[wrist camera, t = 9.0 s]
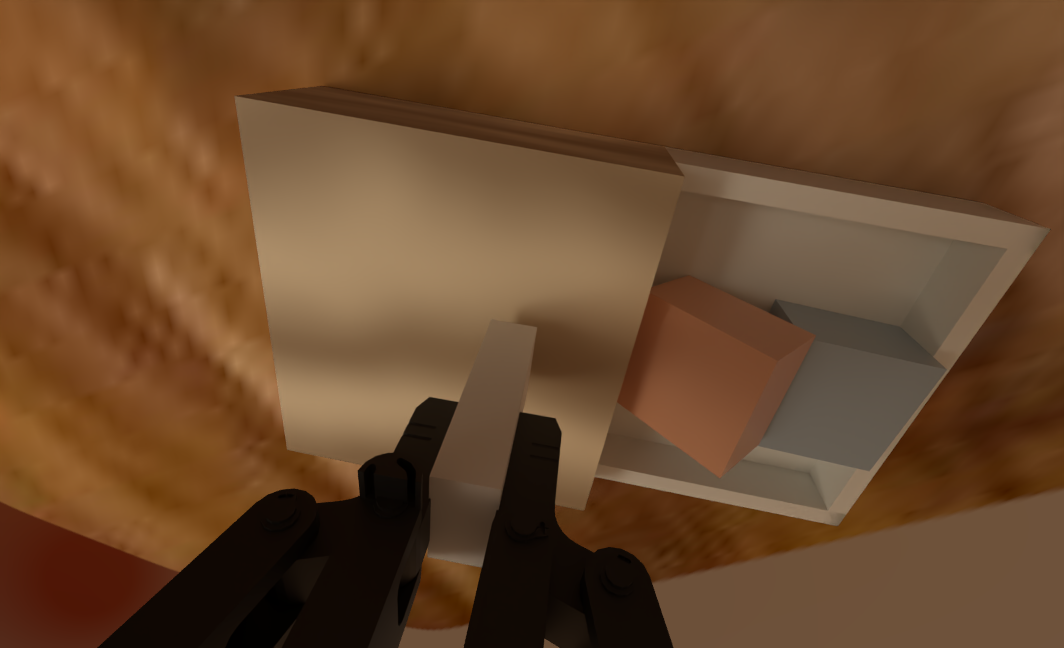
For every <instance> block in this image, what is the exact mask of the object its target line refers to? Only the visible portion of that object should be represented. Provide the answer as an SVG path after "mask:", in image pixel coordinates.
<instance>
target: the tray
mask: <svg viewBox="0 0 1064 648" xmlns="http://www.w3.org/2000/svg"><path fill="white" fill-rule="evenodd" d="M665 148H666V149H667V151H668V152H669V154H670V155H671V157H672V158H673V160H674V161H675V163H676V164H677V166H678V167H679V168H680V170H681V171H682V173H683V174H684V176H685V178H684V181H683V185H682V188H681V191H680V195H679V198H678V201H677V205H676V208H675V211H674V214H673V218H672V221H671V224H670V228H669V231H668V234H667V238H666V241H665V244H664V248H663V251H662V254H661V258H660V261H659V264H658V267H657V271H656V274H655V277H654V281H653V284H652V287H654V286H657V285H660V284H663V283H666V282H669V281H672V280H676V279H679V278H682V277H685V276H688V275H690V276H692V277H694V278H696V279H699V280H701V281H703V282H705V283H707V284H709V285H711V286H713V287H715V288H718V289H720V290H722V291H724V292H726V293H728V294H730V295H732V296H734V297H736V298H739V299H741V300H743V301H745V302H747V303H749V304H751V305H753V306H755V307H757V308H760V309H762V310H764V311H766V312H768V313H769V311H770V309H771V307H772V305H773V303H774V301H775V299H778V300H782V301H787V302H791V303H796V304H800V305H805V306H809V307H814V308H818V309H823V310H827V311H832V312H836V313H841V314H845V315H850V316H854V317H859V318H863V319H868V320H872V321H877V322H881V323H886V324H891V325H895V326H900V327H901V328H902V329H903V330H904V331H905V332H907V333H908V334H909V335H910V336H911V337H912V338H913V339H914V340H915V341H916V342H918V343H919V344H920V345H921V346H922V347H923V348H924V349H925V350H926V351H927V352H928V353H930V354H931V355H932V356H933V357H934V358H935V359H936V360H937V361H938V362H939V363H940V364H942V365H943V366H944V367H945V368H946V369H947V371H946V372H945V373H944V375H943V376H942V377H941V379H940V380H939V381H938V382H937V384H936V385H935V386H934V388H933V389H932V390H931V392H930V393H929V394H928V396H927V397H926V398H925V399H924V401H923V402H922V403H921V405H920V406H919V407H918V409H917V410H916V411H915V413H914V414H913V415H912V416H911V418H910V419H909V420H908V422H907V423H906V424H905V426H904V427H903V428H902V429H901V431H900V432H899V433H898V435H897V436H896V437H895V439H894V440H893V441H892V443H891V444H890V445H889V446H888V448H887V449H886V450H885V452H884V453H883V454H882V456H881V457H880V458H879V460H878V461H877V462H876V463H875V465H874V466H873V467H872V469H871V470H870V471H866V470H861V469H857V468H852V467H848V466H844V465H839V464H835V463H830V462H826V461H822V460H817V459H813V458H808V457H804V456H800V455H795V454H791V453H786V452H782V451H778V450H773V449H769V448H764V447H760V446H757V447H756V448H754V449H753V450H752V451H751V452H750V453H749V454H747V455H746V456H745V457H744V458H743V459H742V460H741V461H739V462H738V463H737V464H736V465H735V466H734V467H733V468H731V469H730V470H729V471H728V472H727V473H726V474H725V475H723V476H722V477H721V478H719V477H717V476H716V475H715V474H713V473H712V472H711V471H709V470H708V469H706V468H705V467H704V466H702V465H701V464H700V463H698V462H697V461H696V460H694V459H693V458H692V457H690V456H689V455H688V454H686V453H685V452H684V451H682V450H681V449H679V448H678V447H677V446H675V445H674V444H673V443H671V442H670V441H669V440H667V439H666V438H665V437H663V436H662V435H661V434H659V433H658V432H657V431H655V430H654V429H652V428H651V427H650V426H648V425H647V424H646V423H644V422H643V421H642V420H640V419H639V418H638V417H636V416H635V415H634V414H632V413H631V412H630V411H628V410H627V409H625V408H624V407H623V406H621V405H620V404H619V403H616V407H615V410H614V413H613V416H612V420H611V423H610V426H609V430H608V433H607V436H606V440H605V443H604V446H603V450H602V453H601V456H600V459H599V463H598V466H597V469H596V473H595V476H594V477H598V478H603V479H608V480H613V481H618V482H623V483H628V484H633V485H638V486H643V487H648V488H653V489H657V490H662V491H667V492H672V493H677V494H682V495H687V496H692V497H697V498H702V499H707V500H712V501H717V502H722V503H726V504H731V505H736V506H741V507H746V508H751V509H756V510H761V511H766V512H771V513H776V514H781V515H786V516H790V517H795V518H800V519H805V520H810V521H815V522H820V523H825V524H830V525H835V526H838V525H839V524H840V522H841V521H842V520H843V518H844V517H845V515H846V514H847V513H848V511H849V510H850V508H851V507H852V506H853V504H854V503H855V501H856V500H857V499H858V497H859V496H860V495H861V493H862V492H863V490H864V489H865V488H866V486H867V485H868V483H869V482H870V481H871V479H872V478H873V476H874V475H875V474H876V472H877V471H878V469H879V468H880V467H881V465H882V464H883V462H884V461H885V460H886V458H887V457H888V455H889V454H890V453H891V451H892V450H893V449H894V447H895V446H896V444H897V443H898V442H899V440H900V439H901V437H902V436H903V435H904V433H905V432H906V430H907V429H908V428H909V426H910V425H911V423H912V422H913V421H914V419H915V418H916V416H917V415H918V414H919V412H920V411H921V409H922V408H923V407H924V405H925V404H926V403H927V401H928V400H929V398H930V397H931V396H932V394H933V393H934V391H935V390H936V389H937V387H938V386H939V384H940V383H941V382H942V380H943V379H944V377H945V376H946V375H947V373H948V372H949V370H950V369H951V368H952V366H953V365H954V363H955V362H956V361H957V359H958V358H959V357H960V355H961V354H962V352H963V351H964V350H965V348H966V347H967V345H968V344H969V343H970V341H971V340H972V338H973V337H974V336H975V334H976V333H977V331H978V330H979V329H980V327H981V326H982V324H983V323H984V322H985V320H986V319H987V318H988V316H989V315H990V313H991V312H992V311H993V309H994V308H995V306H996V305H997V304H998V302H999V301H1000V299H1001V298H1002V297H1003V295H1004V294H1005V292H1006V291H1007V290H1008V288H1009V287H1010V285H1011V284H1012V283H1013V281H1014V280H1015V278H1016V277H1017V276H1018V274H1019V273H1020V272H1021V270H1022V269H1023V267H1024V266H1025V265H1026V263H1027V262H1028V260H1029V259H1030V258H1031V256H1032V255H1033V253H1034V252H1035V251H1036V249H1037V248H1038V246H1039V245H1040V244H1041V242H1042V241H1043V239H1044V238H1045V237H1046V235H1047V234H1048V232H1049V231H1050V230H1051V229H1049V228H1046V227H1044V226H1041V225H1039V224H1036V223H1034V222H1031V221H1029V220H1026V219H1023V218H1021V217H1018V216H1016V215H1013V214H1011V213H1008V212H1006V211H1003V210H1000V209H998V208H995V207H993V206H990V205H988V204H985V203H982V202H976V201H970V200H965V199H959V198H953V197H948V196H942V195H936V194H931V193H925V192H919V191H914V190H908V189H902V188H897V187H891V186H885V185H880V184H874V183H868V182H863V181H857V180H851V179H846V178H840V177H834V176H829V175H823V174H817V173H812V172H806V171H801V170H795V169H789V168H784V167H778V166H772V165H767V164H761V163H755V162H750V161H744V160H738V159H733V158H727V157H721V156H716V155H710V154H704V153H699V152H693V151H687V150H682V149H676V148H670V147H665Z"/></svg>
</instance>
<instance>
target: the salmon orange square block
mask: <svg viewBox="0 0 1064 648" xmlns="http://www.w3.org/2000/svg"><path fill="white" fill-rule="evenodd" d="M815 337H816V335H814V334H812V333H810V332H808V331H806V330H804V329H802V328H800V327H797V326H795V325H793V324H791V323H789V322H787V321H785V320H783V319H781V318H779V317H776V316H774V315H772V314H770V313H768V312H766V311H764V310H762V309H760V308H757V307H755V306H753V305H751V304H749V303H747V302H745V301H743V300H741V299H739V298H736V297H734V296H732V295H730V294H728V293H726V292H724V291H722V290H720V289H718V288H715V287H713V286H711V285H709V284H707V283H705V282H703V281H701V280H699V279H696V278H694V277H692V276H690V275H688V276H685V277H682V278H679V279H676V280H672V281H669V282H666V283H663V284H660V285H657V286H654V287H651V291H650V294H649V297H648V301H647V304H646V307H645V311H644V314H643V317H642V320H641V324H640V327H639V330H638V334H637V337H636V340H635V344H634V347H633V350H632V354H631V357H630V360H629V363H628V367H627V370H626V373H625V377H624V380H623V383H622V387H621V390H620V393H619V397H618V400H617V403H619V404H620V405H621V406H623V407H624V408H625V409H627V410H628V411H630V412H631V413H632V414H634V415H635V416H636V417H638V418H639V419H640V420H642V421H643V422H644V423H646V424H647V425H648V426H650V427H651V428H652V429H654V430H655V431H657V432H658V433H659V434H661V435H662V436H663V437H665V438H666V439H667V440H669V441H670V442H671V443H673V444H674V445H675V446H677V447H678V448H679V449H681V450H682V451H684V452H685V453H686V454H688V455H689V456H690V457H692V458H693V459H694V460H696V461H697V462H698V463H700V464H701V465H702V466H704V467H705V468H706V469H708V470H709V471H711V472H712V473H713V474H715V475H716V476H717V477H719V478H721V477H722V476H723V475H725V474H726V473H727V472H728V471H729V470H730V469H731V468H733V467H734V466H735V465H736V464H737V463H738V462H739V461H741V460H742V459H743V458H744V457H745V456H746V455H747V454H749V453H750V452H751V451H752V450H753V449H754V448H756V447H757V446H758V445H759V443H760V442H761V440H762V438H763V436H764V434H765V432H766V430H767V428H768V426H769V424H770V422H771V421H772V419H773V417H774V415H775V413H776V411H777V409H778V407H779V405H780V403H781V401H782V400H783V398H784V396H785V394H786V392H787V390H788V388H789V386H790V384H791V382H792V380H793V379H794V377H795V375H796V373H797V371H798V369H799V367H800V365H801V363H802V361H803V360H804V358H805V356H806V354H807V352H808V350H809V348H810V346H811V344H812V342H813V340H814V339H815Z"/></svg>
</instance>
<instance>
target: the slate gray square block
mask: <svg viewBox="0 0 1064 648" xmlns="http://www.w3.org/2000/svg"><path fill="white" fill-rule="evenodd" d="M769 313H770V314H772V315H774V316H776V317H779V318H781V319H783V320H785V321H787V322H789V323H791V324H793V325H795V326H797V327H800V328H802V329H804V330H806V331H808V332H810V333H812V334H814V335H816V337H815V339H814V340H813V342H812V344H811V346H810V348H809V350H808V352H807V354H806V356H805V358H804V360H803V361H802V363H801V365H800V367H799V369H798V371H797V373H796V375H795V377H794V379H793V380H792V382H791V384H790V386H789V388H788V390H787V392H786V394H785V396H784V398H783V400H782V401H781V403H780V405H779V407H778V409H777V411H776V413H775V415H774V417H773V419H772V421H771V422H770V424H769V426H768V428H767V430H766V432H765V434H764V436H763V438H762V440H761V442H760V443H759V445H758V446H760V447H764V448H769V449H773V450H778V451H782V452H786V453H791V454H795V455H800V456H804V457H808V458H813V459H817V460H822V461H826V462H830V463H835V464H839V465H844V466H848V467H852V468H857V469H861V470H866V471H870V470H871V469H872V467H873V466H874V465H875V463H876V462H877V461H878V460H879V458H880V457H881V456H882V454H883V453H884V452H885V450H886V449H887V448H888V446H889V445H890V444H891V443H892V441H893V440H894V439H895V437H896V436H897V435H898V433H899V432H900V431H901V429H902V428H903V427H904V426H905V424H906V423H907V422H908V420H909V419H910V418H911V416H912V415H913V414H914V413H915V411H916V410H917V409H918V407H919V406H920V405H921V403H922V402H923V401H924V399H925V398H926V397H927V396H928V394H929V393H930V392H931V390H932V389H933V388H934V386H935V385H936V384H937V382H938V381H939V380H940V379H941V377H942V376H943V375H944V373H945V372H946V371H947V369H946V368H945V367H944V366H943V365H942V364H940V363H939V362H938V361H937V360H936V359H935V358H934V357H933V356H932V355H931V354H930V353H928V352H927V351H926V350H925V349H924V348H923V347H922V346H921V345H920V344H919V343H918V342H916V341H915V340H914V339H913V338H912V337H911V336H910V335H909V334H908V333H907V332H905V331H904V330H903V329H902V328H901V327H900V326H895V325H891V324H886V323H881V322H877V321H872V320H868V319H863V318H859V317H854V316H850V315H845V314H841V313H836V312H832V311H827V310H823V309H818V308H814V307H809V306H805V305H800V304H796V303H791V302H787V301H782V300H778V299H775V301H774V303H773V305H772V307H771V309H770V311H769Z"/></svg>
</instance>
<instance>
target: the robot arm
mask: <svg viewBox="0 0 1064 648" xmlns="http://www.w3.org/2000/svg"><path fill="white" fill-rule="evenodd" d="M536 332H537V327H533V326H527V325H522V324H516V323H510V322H504V321H498V320H492V319H491V321H490V324H489V326H488V329H487V331H486V334H485V337H484V339H483V342H482V344H481V347H480V349H479V352H478V354H477V357H476V359H475V362H474V364H473V367H472V370H471V372H470V375H469V377H468V380H467V382H466V385H465V387H464V390H463V392H462V395H461V397H460V400H459V402H456V401H450V400H445V399H439V398H433V397H429V398H427V399H426V400H425V401H424V402H422V403H421V404H420V405H419V406H417V407H416V409H415V411H414V413H413V415H412V417H411V419H410V421H409V424H407V426H406V428H405V430H404V432H403V436H401V438H400V440H399V442H398V444H397V446H396V448H395V450H394V452H393V453H385V454H381V455H377V456H375V457H373V458H371V459H370V460H368V461H366V462H365V463H364V464H363V465H362V467H361V468H360V469H359V470H358V479H359V490H360V496H358V497H355V498H353V499H348V500H343V501H335V502H325V503H316V501H315V499H314V497H313V496H312V495H310V494H309V493H308V492H306V491H303V490H298V489H285V490H279V491H277V492H274V493H271V494H268V495H267V496H265V497H264V498H262V499H261V500H259V501H258V502H256V503H255V504H254V505H253V506H252V507H251V508H250V509H249V510H248V511H246V512H245V513H244V514H243V515H242V516H241V517H240V518H239V519H238V520H237V521H236V522H234V523H233V524H232V525H231V526H230V527H229V528H228V529H227V530H226V531H225V532H223V533H222V534H221V535H220V536H219V537H218V538H217V539H216V540H215V541H214V542H213V543H211V544H210V545H209V546H208V547H207V548H206V549H205V550H204V551H203V552H202V553H200V554H199V555H198V556H197V557H196V558H195V559H194V560H193V561H192V562H191V563H190V564H188V565H187V566H186V567H185V568H184V569H183V570H182V571H181V572H180V573H179V574H178V575H177V576H175V577H174V578H173V579H172V580H171V581H170V582H169V583H168V584H167V585H166V586H164V587H163V588H162V589H161V590H160V591H159V592H158V593H157V594H156V595H155V596H153V597H152V598H151V599H150V600H149V601H148V602H147V603H146V604H145V605H144V606H142V607H141V608H140V609H139V610H138V611H137V612H136V613H135V614H134V615H133V616H132V617H131V618H129V619H128V620H127V621H126V622H125V623H124V624H123V625H122V626H121V627H120V628H118V629H117V630H116V631H115V632H114V633H113V634H112V635H111V636H110V637H109V638H107V639H106V640H105V641H104V642H103V643H102V644H101V645H100V646H99V647H98V648H398V646H399V643H400V640H401V637H402V634H403V631H404V628H405V625H406V622H407V619H408V616H409V613H410V610H411V607H412V604H413V601H414V598H415V595H416V592H417V589H418V586H419V583H420V578H421V564H422V562H423V559H424V556H425V553H426V550H427V547H428V557H431V558H436V559H441V560H446V561H451V562H456V563H462V564H467V565H472V566H477V567H482V569H481V574H480V578H479V582H478V587H477V591H476V596H475V600H474V604H473V609H472V613H471V618H470V622H469V626H468V631H467V635H466V639H465V644H464V648H543V647H544V638H545V639H546V640H548V641H550V642H551V643H553V644H555V645H556V646H558V647H559V648H673V645H672V642H671V639H670V636H669V633H668V630H667V627H666V624H665V621H664V618H663V615H662V612H661V609H660V606H659V603H658V600H657V597H656V594H655V591H654V588H653V585H652V582H651V579H650V576H649V574H648V572H647V570H646V569H645V567H644V565H643V564H642V563H641V562H640V561H639V560H638V559H637V558H636V557H635V556H634V555H632V554H630V553H629V552H627V551H625V550H623V549H619V548H612V547H608V548H603V549H599V550H597V551H596V552H595V553H593V552H592V551H590V550H588V549H586V548H584V547H582V546H580V545H578V544H577V543H575V542H574V541H572V540H571V539H569V538H568V537H567V536H566V535H565V534H564V533H563V532H562V530H561V529H560V527H559V525H558V524H557V521H556V517H555V499H556V489H557V479H558V468H559V458H560V448H561V437H562V432H561V429H560V427H559V425H558V422H557V420H556V418H552V417H546V416H541V415H535V414H529V413H524V412H523V410H524V406H525V401H526V396H527V390H528V384H529V377H530V371H531V364H532V358H533V351H534V345H535V338H536Z"/></svg>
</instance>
